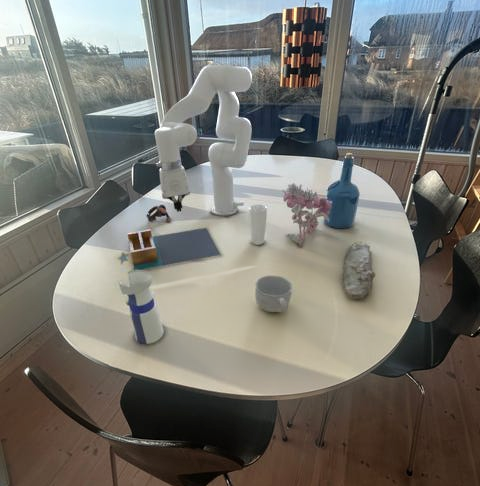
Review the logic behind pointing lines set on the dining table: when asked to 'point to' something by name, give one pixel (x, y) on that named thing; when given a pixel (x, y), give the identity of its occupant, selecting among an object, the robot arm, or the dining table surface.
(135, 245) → the rack
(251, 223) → the drinking glass
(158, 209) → the pottery mug
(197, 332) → the dining table surface
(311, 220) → the flower
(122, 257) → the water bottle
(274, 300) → the teacup
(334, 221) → the wine bottle
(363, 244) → the long grey stone
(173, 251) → the mat
